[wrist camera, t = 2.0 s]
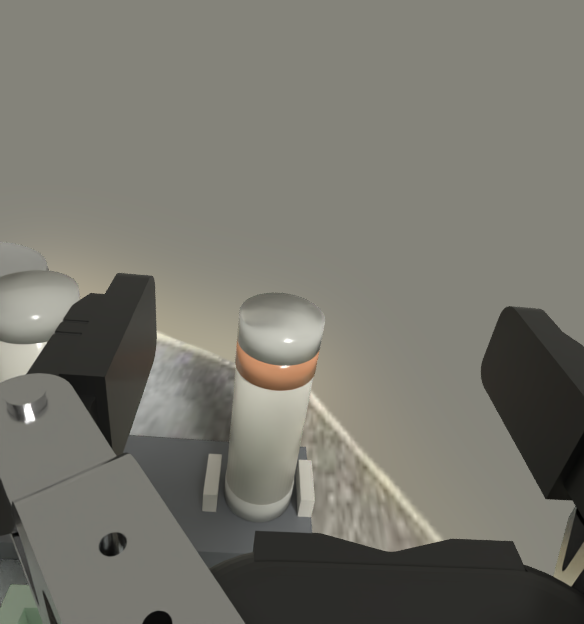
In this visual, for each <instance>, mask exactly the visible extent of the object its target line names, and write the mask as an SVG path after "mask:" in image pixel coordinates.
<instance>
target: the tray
mask: <svg viewBox="0 0 584 624" xmlns="http://www.w3.org/2000/svg"><path fill="white" fill-rule="evenodd" d="M0 624H43V622H42V619H41V617H40V614H39V611H38V609H37V606H36V603H35V600H34V598H33V595H32V592H31V590H30V587H29V585H14V584H11V585H10V587H9V589H8V591H7V594H6V596H5V598H4V600H3V602H2V605H1V607H0Z"/></svg>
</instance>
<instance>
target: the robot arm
mask: <svg viewBox="0 0 584 624" xmlns="http://www.w3.org/2000/svg"><path fill="white" fill-rule="evenodd" d="M156 339H157V333H156V304H155V282H154V278H153V276H148V275H136V274H124V273H118V274H116V276H115V278H114V279H113V281H112V283H111V284H110V286H109V288H108V290H107V291H106V293H105V294H95V293H90V294H89V295H87V296H86V297H84V298H82V299H81V300H79V301H78V302H76V303H74V304H73V305H72V306H71V308H70V309H69V311H68V312H67V314H66V315H65V317H64V318H63V322H61V323H60V324H59V326H58V327H57V329H56V330H55V334H53V335H52V336H51V338H50V339H49V341H48V342H47V344H46V345H45V346H44V348H43V349H42V351H41V352H40V354H39V355H38V357H37V358H36V360H35V361H34V363H33V364H32V366H31V367H30V369H29V370H28V372H27V373H26V375H21V376H17V377H13V378H10V379H7V380H5V381H3V382H1V383H0V536H3V535H7V534H10V536H11V539H12V541H13V544H14V547H15V549H16V552H17V555H18V557H19V560H20V563H21V565H22V568H23V571H24V574H25V576H26V579H27V582H28V584H29V587H30V590H31V592H32V595H33V598H34V600H35V603H36V606H37V609H38V611H39V614H40V617H41V619H42V622H43V624H584V347H583V346H582V345H581V344H580V343H578V342H577V341H575V340H573V339H572V338H571V337H569V336H568V335H566V334H565V333H563V332H562V331H561V330H560V328H558V326H557V325H556V324H555V323H554V322H553V321H552V319H551V318H550V317H549V316H548V315H547V314H546V313H545V312H544V311H543V310H541V309H535V308H523V307H510V306H509V307H506V308H505V309H504V310H503V311H502V312H501V314H500V316H499V319H498V321H497V324H496V327H495V329H494V332H493V334H492V337H491V340H490V342H489V345H488V348H487V350H486V353H485V355H484V358H483V361H482V366H481V379H482V383H483V386H484V388H485V390H486V392H487V393H488V395H489V397H490V399H491V401H492V402H493V404H494V406H495V408H496V410H497V412H498V413H499V415H500V417H501V419H502V421H503V422H504V424H505V426H506V428H507V430H508V431H509V433H510V435H511V437H512V439H513V441H514V442H515V444H516V446H517V448H518V450H519V451H520V453H521V455H522V457H523V459H524V460H525V462H526V464H527V466H528V468H529V470H530V471H531V473H532V475H533V477H534V479H535V480H536V482H537V484H538V486H539V488H540V489H541V491H542V493H543V495H544V497H545V499H555V500H573V502H574V504H575V505H576V506H575V508H574V509H573V511H572V512H571V514H570V516H569V518H568V521H567V525H566V529H565V533H564V537H563V541H562V544H561V548H560V552H559V556H558V560H557V563H556V567H555V571H554V575H553V576H551V575H549V574H547V573H545V572H542V571H539V570H537V569H534V568H532V567H529V566H526V565H523V563H522V560H521V558H520V556H519V554H518V551H517V549H516V547H515V545H514V543H513V541H492V540H468V539H449V540H444V541H440V542H436V543H431V544H427V545H423V546H418V547H414V548H410V549H405V550H401V551H396V552H387V551H382V550H379V549H375V548H371V547H368V546H364V545H361V544H357V543H353V542H350V541H346V540H343V539H339V538H335V537H332V536H328V535H325V534H321V533H300V532H276V531H255V536H254V545H253V552H251V553H246V554H242V555H239V556H236V557H233V558H230V559H228V560H225V561H222V562H220V563H218V564H216V565H214V566H212V567H210V568H208V567H207V566H206V564H205V563H204V561H203V560H202V558H201V557H200V555H199V554H198V552H197V551H196V549H195V548H194V546H193V545H192V543H191V542H190V540H189V539H188V537H187V536H186V534H185V533H184V531H183V530H182V528H181V527H180V525H179V524H178V522H177V521H176V519H175V518H174V516H173V515H172V513H171V512H170V510H169V509H168V507H167V506H166V504H165V503H164V501H163V500H162V498H161V497H160V495H159V494H158V492H157V491H156V489H155V488H154V486H153V485H152V483H151V482H150V480H149V479H148V477H147V476H146V474H145V473H144V471H143V470H142V468H141V467H140V465H139V464H138V462H137V461H136V460H135V458H134V457H133V456H132V455H131V454H129V453H127V452H126V453H123V451H124V448H125V445H126V442H127V439H128V436H129V433H130V430H131V427H132V424H133V421H134V418H135V415H136V412H137V409H138V406H139V404H140V401H141V398H142V395H143V392H144V389H145V386H146V383H147V380H148V377H149V374H150V371H151V368H152V365H153V361H154V357H155V351H156Z"/></svg>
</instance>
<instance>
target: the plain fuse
mask: <svg viewBox="0 0 584 624" xmlns="http://www.w3.org/2000/svg"><path fill="white" fill-rule="evenodd" d="M79 300H80V294H79V286H78V284H77V282H76V281H75V280H74V279H73V278H71V277H69V276H67V275H65V274H62V273H59V272H54V271H45V270H30V271H21V272H15V273H11V274H7V275H4V276H1V277H0V383H1V382H3V381H5V380H7V379H10V378H13V377H17V376H21V375H26V373H27V372H28V370H29V369H30V367H31V366H32V364H33V363H34V361H35V360H36V358H37V357H38V355H39V354H40V352H41V351H42V349H43V348H44V346H45V345H46V344H47V342H48V341H49V339H50V338H51V336H52V335H53V334H55V330H56V329H57V327H58V326H59V324H60V323H61V322H63V318H64V317H65V315H66V314H67V312H68V311H69V309H70V308H71V306H72V305H73V304H74V303H76V302H78V301H79Z"/></svg>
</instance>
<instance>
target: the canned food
mask: <svg viewBox="0 0 584 624" xmlns="http://www.w3.org/2000/svg"><path fill="white" fill-rule="evenodd" d="M30 270H45V271H49V269H48V266H47V263H46V260H45V258H44V257H43V256H42V255H41V254H40V253H39V252H37V251H35V250H34V249H32V248H29V247H26V246H23V245H19V244H14V243H7V242H0V277H1V276H4V275H7V274H11V273H15V272H21V271H30Z"/></svg>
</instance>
